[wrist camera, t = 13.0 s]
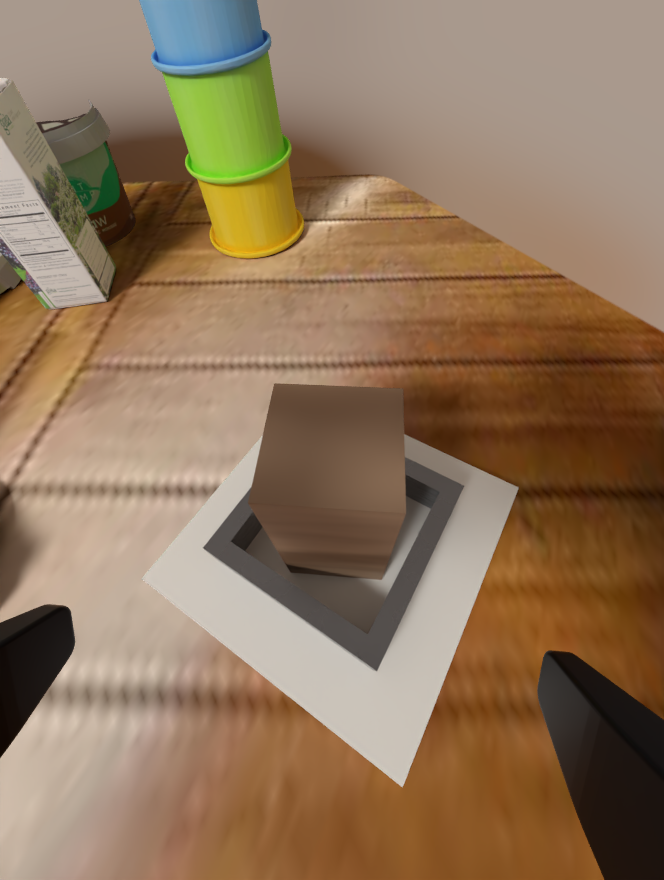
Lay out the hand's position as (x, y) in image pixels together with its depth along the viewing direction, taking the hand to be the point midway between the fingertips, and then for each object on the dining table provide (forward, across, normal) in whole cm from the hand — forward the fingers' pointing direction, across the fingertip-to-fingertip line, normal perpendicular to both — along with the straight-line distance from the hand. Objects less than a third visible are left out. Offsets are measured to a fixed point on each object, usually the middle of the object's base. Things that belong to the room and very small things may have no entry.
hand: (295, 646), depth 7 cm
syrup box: (+30, +27, -11) cm, 42 cm away
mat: (+14, 0, +5) cm, 15 cm away
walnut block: (+14, 0, +5) cm, 14 cm away
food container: (+37, +29, -17) cm, 50 cm away
